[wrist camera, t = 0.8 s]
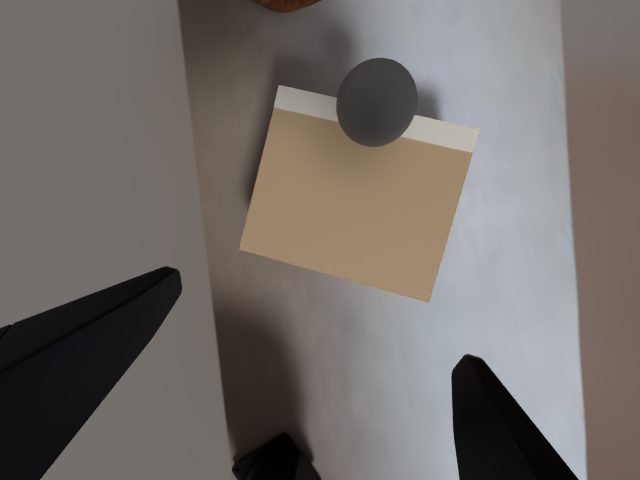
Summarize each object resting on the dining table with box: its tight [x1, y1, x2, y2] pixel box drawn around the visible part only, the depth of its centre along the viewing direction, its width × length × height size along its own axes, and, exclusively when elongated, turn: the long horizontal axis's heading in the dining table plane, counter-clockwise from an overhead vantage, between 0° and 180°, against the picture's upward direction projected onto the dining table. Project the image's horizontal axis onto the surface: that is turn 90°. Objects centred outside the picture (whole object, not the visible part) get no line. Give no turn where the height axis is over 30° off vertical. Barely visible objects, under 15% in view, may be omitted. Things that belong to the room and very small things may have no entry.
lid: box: [239, 58, 480, 302], centre depth 17 cm, size 13×14×7 cm
